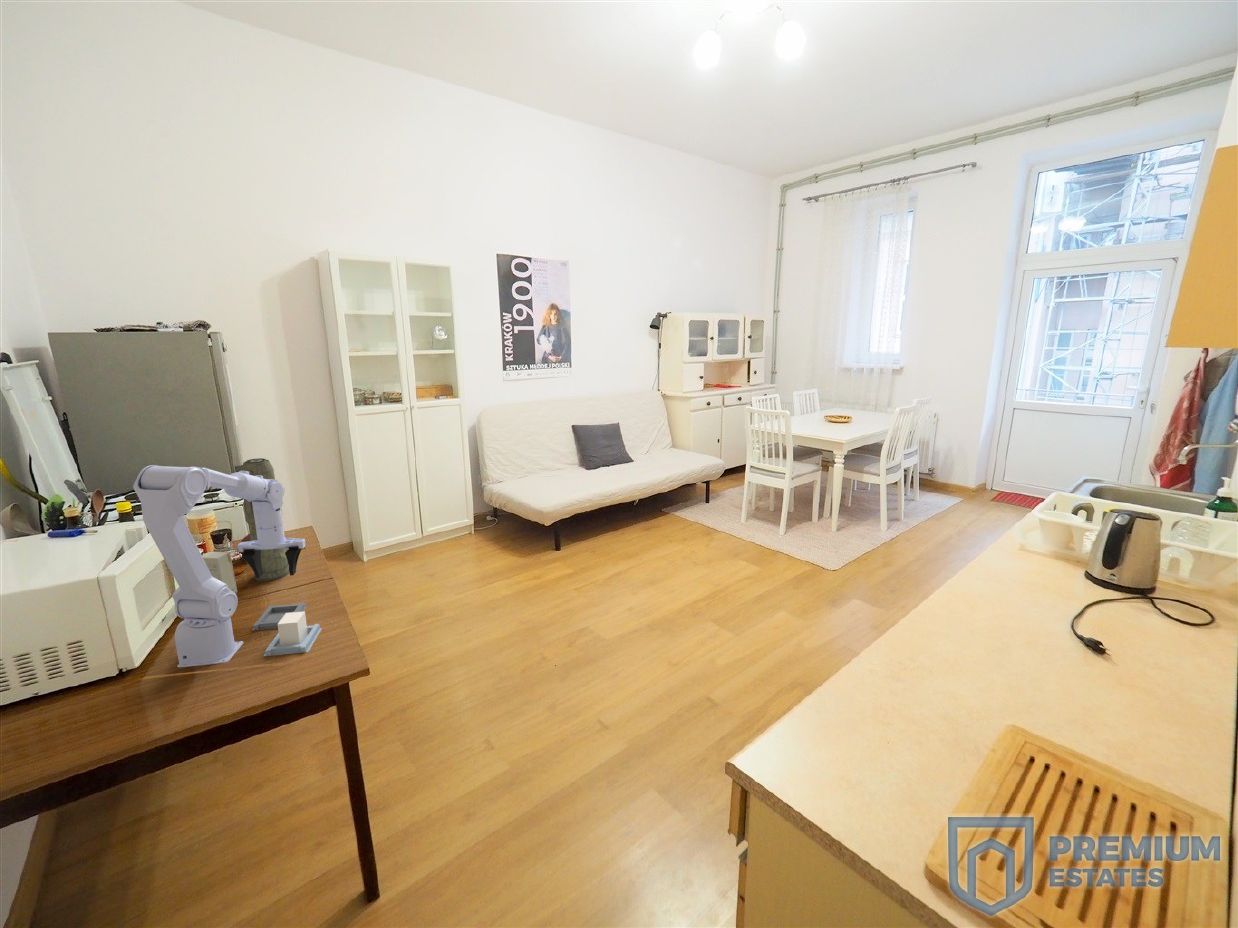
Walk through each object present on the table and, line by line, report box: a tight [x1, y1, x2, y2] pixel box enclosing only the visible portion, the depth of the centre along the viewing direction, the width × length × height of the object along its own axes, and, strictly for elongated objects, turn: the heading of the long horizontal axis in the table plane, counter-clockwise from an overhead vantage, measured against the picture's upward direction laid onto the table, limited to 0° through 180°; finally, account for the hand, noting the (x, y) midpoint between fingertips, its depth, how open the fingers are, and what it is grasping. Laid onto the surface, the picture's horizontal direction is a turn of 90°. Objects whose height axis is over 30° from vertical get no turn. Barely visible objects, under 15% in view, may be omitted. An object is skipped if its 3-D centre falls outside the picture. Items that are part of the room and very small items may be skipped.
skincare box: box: [201, 551, 238, 595], centre depth 139 cm, size 6×4×12 cm
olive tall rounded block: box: [240, 457, 290, 582], centre depth 150 cm, size 9×12×35 cm
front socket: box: [263, 623, 323, 657], centre depth 120 cm, size 9×10×2 cm
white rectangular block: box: [277, 610, 308, 646], centre depth 120 cm, size 4×5×6 cm
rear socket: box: [251, 602, 308, 632], centre depth 130 cm, size 9×10×2 cm
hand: (276, 575), depth 133 cm, fingers open, 7 cm apart
